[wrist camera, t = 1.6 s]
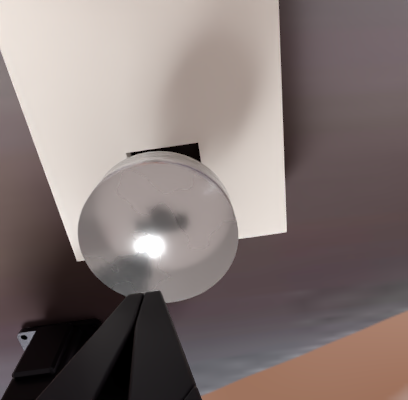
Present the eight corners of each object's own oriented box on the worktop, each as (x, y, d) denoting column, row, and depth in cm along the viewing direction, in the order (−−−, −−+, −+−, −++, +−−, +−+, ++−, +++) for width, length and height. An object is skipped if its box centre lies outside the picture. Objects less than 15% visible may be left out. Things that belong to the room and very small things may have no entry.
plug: (229, 225, 17) (244, 292, 13) (125, 240, 17) (101, 312, 13) (216, 121, 15) (230, 152, 10) (97, 138, 15) (55, 178, 10)
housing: (270, 202, 22) (286, 232, 18) (95, 227, 22) (76, 261, 18) (244, -260, 13) (265, -380, 10) (-44, -213, 13) (-131, -312, 10)
